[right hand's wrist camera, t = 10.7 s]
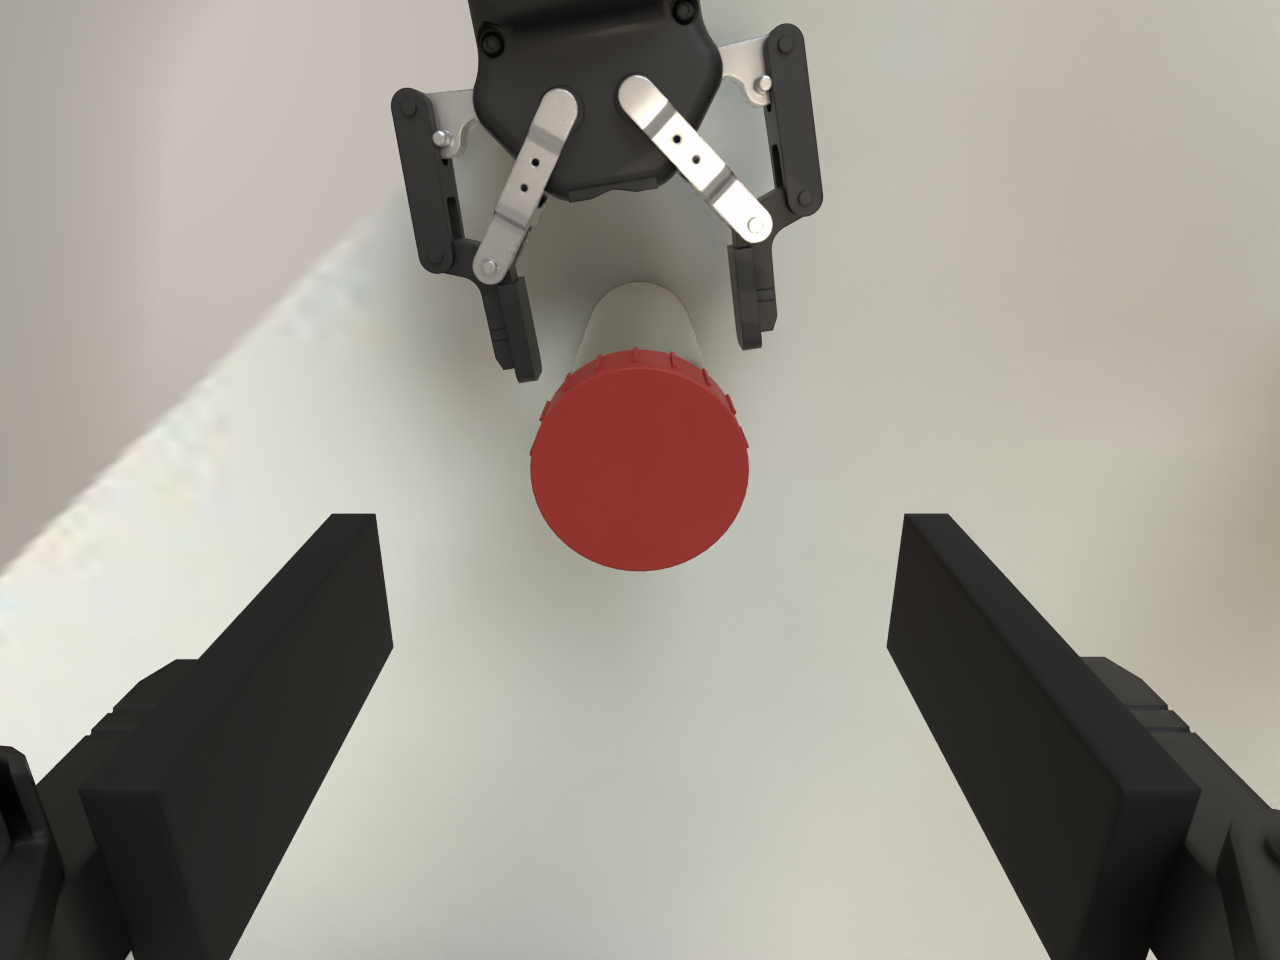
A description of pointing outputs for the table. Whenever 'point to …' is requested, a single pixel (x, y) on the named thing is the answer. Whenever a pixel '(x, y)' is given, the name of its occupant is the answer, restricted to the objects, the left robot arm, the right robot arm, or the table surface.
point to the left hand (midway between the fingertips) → (640, 361)
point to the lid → (639, 461)
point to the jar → (639, 325)
